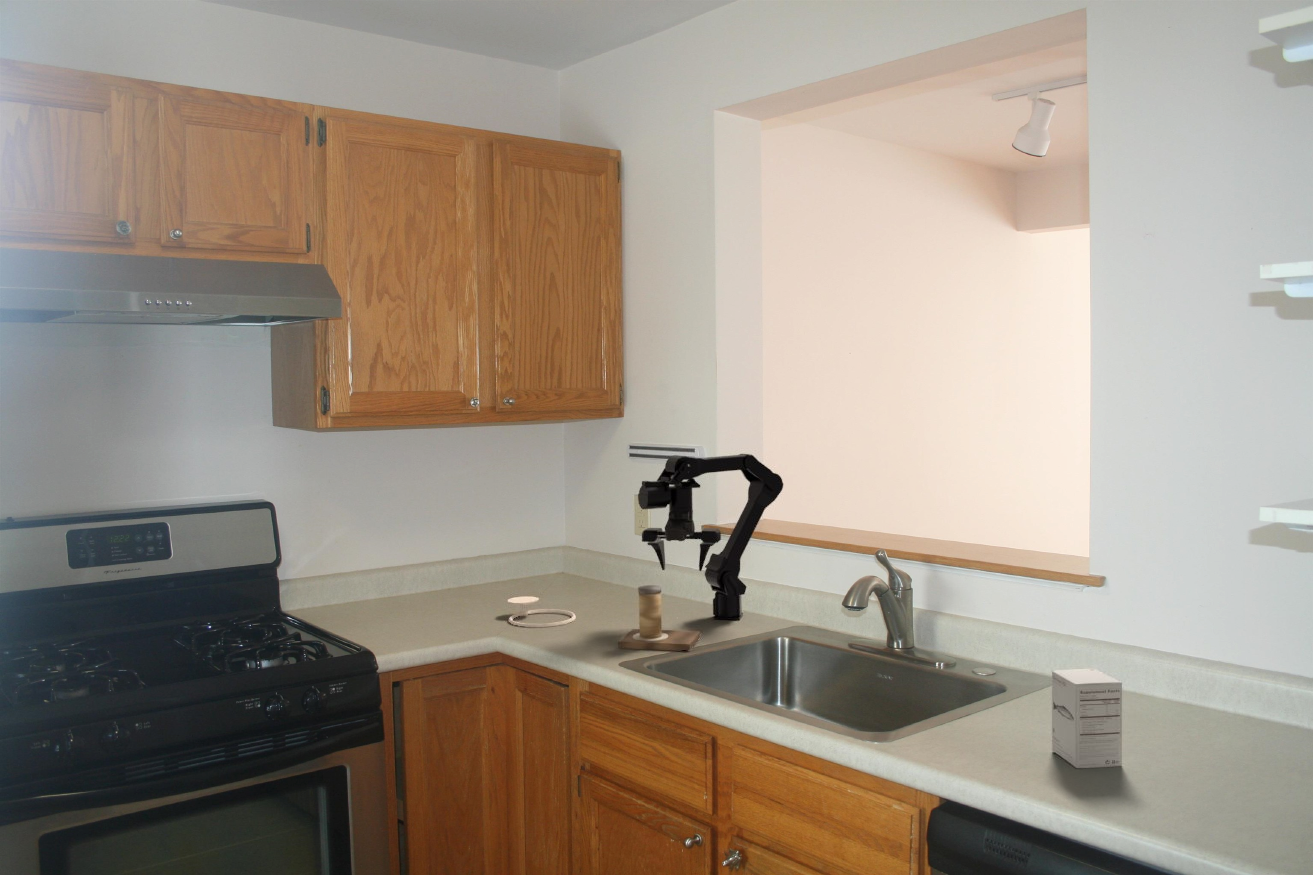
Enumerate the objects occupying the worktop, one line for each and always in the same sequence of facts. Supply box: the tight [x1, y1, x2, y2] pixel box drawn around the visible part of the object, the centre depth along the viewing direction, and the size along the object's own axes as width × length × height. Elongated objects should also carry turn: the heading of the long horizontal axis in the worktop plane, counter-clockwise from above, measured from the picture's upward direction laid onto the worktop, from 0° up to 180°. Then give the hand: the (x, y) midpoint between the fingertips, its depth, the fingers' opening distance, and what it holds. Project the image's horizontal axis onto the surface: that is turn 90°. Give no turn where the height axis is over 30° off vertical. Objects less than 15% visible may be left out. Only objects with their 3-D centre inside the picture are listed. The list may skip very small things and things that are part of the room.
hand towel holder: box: [507, 596, 577, 628], centre depth 248 cm, size 17×4×21 cm
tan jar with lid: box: [637, 584, 663, 639], centre depth 220 cm, size 5×5×11 cm
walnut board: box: [618, 628, 701, 651], centre depth 221 cm, size 16×12×2 cm
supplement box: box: [1051, 668, 1123, 769], centre depth 146 cm, size 7×7×13 cm
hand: (681, 570), depth 239 cm, fingers open, 9 cm apart
